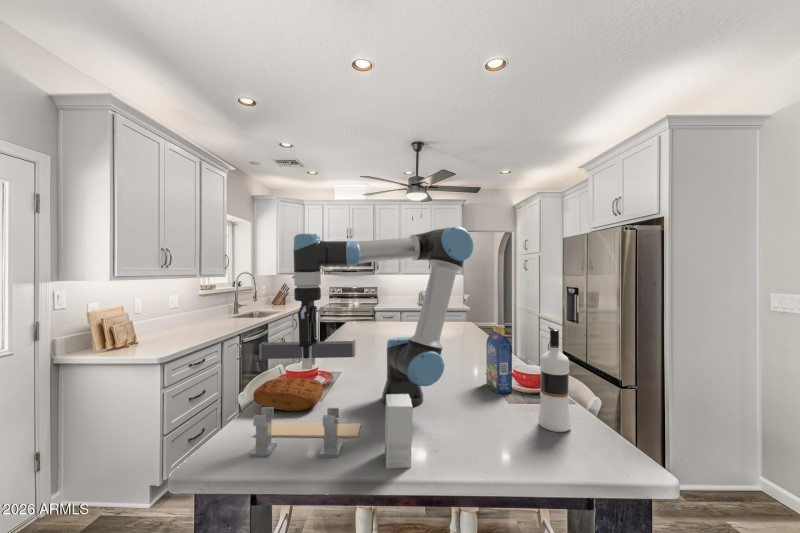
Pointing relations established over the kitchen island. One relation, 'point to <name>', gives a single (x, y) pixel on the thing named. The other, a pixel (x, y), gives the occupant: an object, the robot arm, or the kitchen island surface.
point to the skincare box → (398, 431)
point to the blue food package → (499, 361)
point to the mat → (310, 430)
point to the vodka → (554, 388)
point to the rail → (318, 349)
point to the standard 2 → (331, 434)
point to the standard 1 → (263, 433)
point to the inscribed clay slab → (289, 393)
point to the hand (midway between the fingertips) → (308, 366)
